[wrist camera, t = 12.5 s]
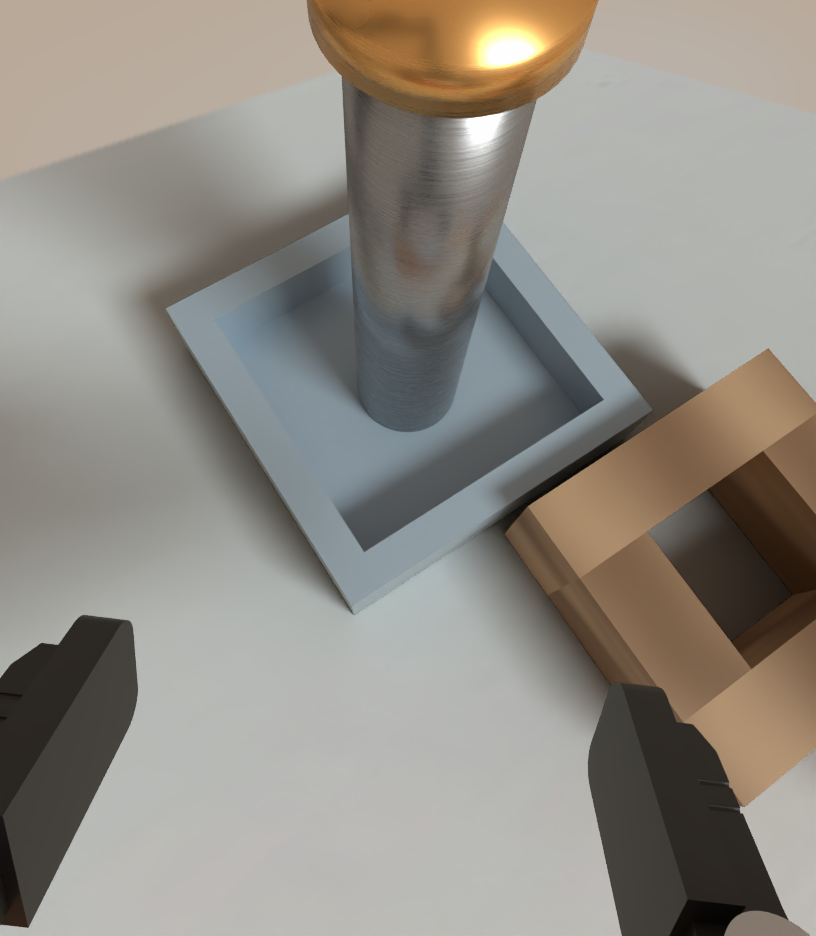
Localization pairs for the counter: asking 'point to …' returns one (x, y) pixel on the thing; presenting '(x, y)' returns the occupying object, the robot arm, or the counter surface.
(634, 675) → the socket block
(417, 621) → the counter surface
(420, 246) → the pin
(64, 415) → the counter surface
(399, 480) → the tray
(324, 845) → the counter surface
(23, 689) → the robot arm
